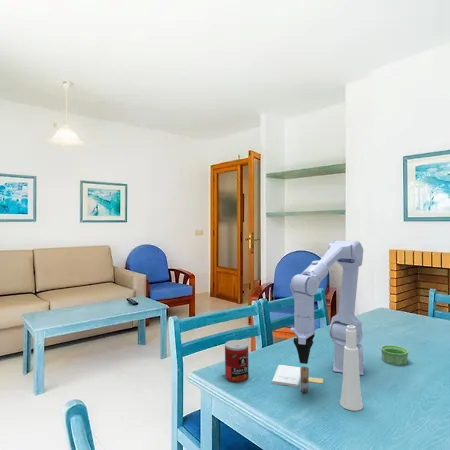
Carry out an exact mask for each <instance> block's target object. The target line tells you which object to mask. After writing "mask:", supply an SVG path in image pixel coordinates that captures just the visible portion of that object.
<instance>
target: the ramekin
mask: <svg viewBox="0 0 450 450" xmlns="http://www.w3.org/2000/svg"><path fill="white" fill-rule="evenodd" d="M380 350H381V358H382V361H383V362H384V363H387V364H389V365H393V366H405V365H406V364H407V363H408V357H409V350H408V349H407V348H405V347H403V346H399V345H394V344H384V345H381V346H380Z"/></svg>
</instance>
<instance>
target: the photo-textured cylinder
mask: <svg viewBox="0 0 450 450" xmlns="http://www.w3.org/2000/svg"><path fill="white" fill-rule="evenodd" d="M300 367H301V368H300V382H299V386H300V393H302V394H308V393H309V391H310V386H309V385H310V382H309V377H310V374H309V372H310V371H309V367H308V366H300Z"/></svg>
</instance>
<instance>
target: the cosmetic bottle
mask: <svg viewBox="0 0 450 450" xmlns="http://www.w3.org/2000/svg"><path fill="white" fill-rule="evenodd" d="M360 376H361V375H359V355H358V348H357V347H356V330H355V326H353V325H351V324H350V325H347V329H346V346H344V360H343V373H342V385H341V391H340V392H341V393H340V399H339V405H340V406H341V407H342V408H343V409H345V410H348V411H353V412H356V411H357V412H358V411H361V410H363V408H364V404H363V399H362V393H361V391H362V390H361V378H360Z"/></svg>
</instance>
